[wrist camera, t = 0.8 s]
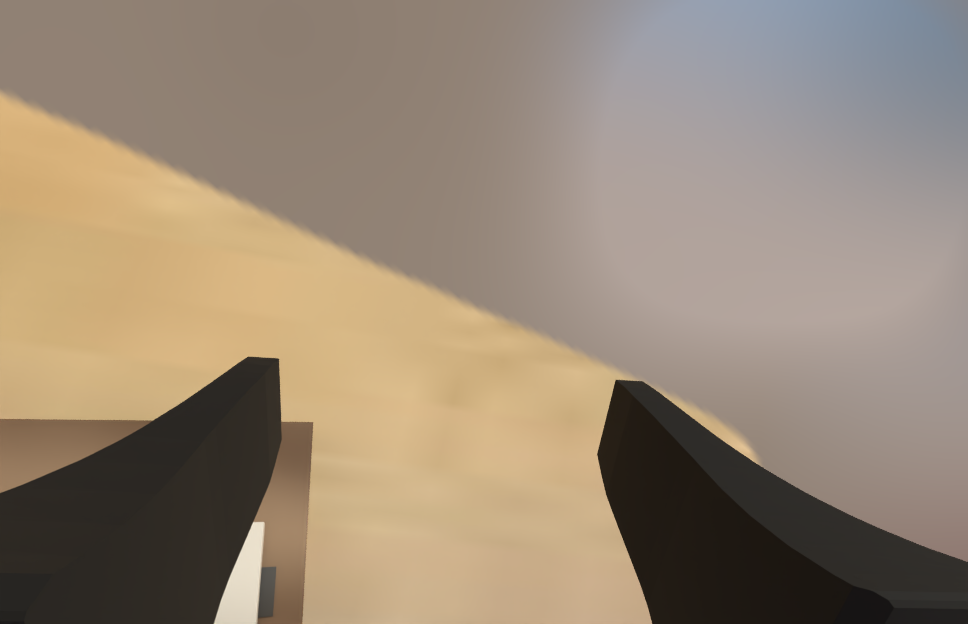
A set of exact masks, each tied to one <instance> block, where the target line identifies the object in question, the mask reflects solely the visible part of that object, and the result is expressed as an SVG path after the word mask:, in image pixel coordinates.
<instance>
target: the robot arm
mask: <svg viewBox="0 0 968 624" xmlns="http://www.w3.org/2000/svg"><path fill="white" fill-rule="evenodd" d="M281 440H282V432H281V404H280V376H279V359H276V358H261V357H247V358H246V359H244V360H242V361H241V362H239V363H238V364H237V365H235V366H234V367H232V368H231V369H230V370H228V371H227V372H225V373H224V374H223V375H221V376H220V377H218V378H217V379H216V380H214V381H213V382H211V383H210V384H208V385H207V386H206V387H204V388H203V389H201V390H200V391H198V392H197V393H195V394H194V395H193V396H191V397H190V398H188V399H187V400H185V401H184V402H182V403H181V404H179V405H178V406H176V407H174V408H173V409H171V410H170V411H168V412H166V413H165V414H163V415H161V416H160V417H158V418H157V419H155V420H153V421H152V422H150V423H149V424H147V425H145V426H144V427H142V428H140V429H139V430H137V431H135V432H133V433H132V434H130V435H128V436H126V437H124V438H123V439H121V440H119V441H117V442H115V443H113V444H111V445H109V446H107V447H105V448H103V449H101V450H99V451H97V452H95V453H93V454H91V455H89V456H87V457H85V458H83V459H81V460H79V461H77V462H74V463H72V464H70V465H67V466H65V467H63V468H60V469H58V470H56V471H53V472H51V473H49V474H46V475H44V476H42V477H39V478H37V479H35V480H32V481H30V482H27V483H25V484H23V485H20V486H18V487H15V488H12V489H10V490H7V491H4V492H2V493H0V624H214V622H215V618H216V615H217V612H218V609H219V605H220V602H221V599H222V597H223V594H224V591H225V589H226V586H227V583H228V581H229V578H230V575H231V573H232V571H233V568H234V566H235V564H236V561H237V559H238V557H239V554H240V552H241V550H242V547H243V545H244V543H245V540H246V538H247V536H248V533H249V531H250V529H251V526H252V524H253V522H254V519H255V517H256V515H257V512H258V510H259V507H260V505H261V503H262V500H263V498H264V496H265V493H266V491H267V488H268V486H269V483H270V481H271V477H272V474H273V470H274V467H275V463H276V459H277V456H278V452H279V448H280V444H281ZM597 455H598V460H599V465H600V470H601V474H602V479H603V483H604V487H605V491H606V495H607V498H608V501H609V503H610V506H611V509H612V511H613V514H614V517H615V520H616V522H617V525H618V528H619V530H620V533H621V535H622V538H623V540H624V543H625V546H626V548H627V551H628V553H629V556H630V559H631V561H632V564H633V566H634V569H635V572H636V574H637V577H638V579H639V582H640V585H641V588H642V591H643V594H644V597H645V600H646V602H647V605H648V609H649V613H650V616H651V620H652V624H968V562H966V561H963V560H960V559H957V558H955V557H951V556H949V555H946V554H943V553H940V552H937V551H935V550H931V549H929V548H926V547H924V546H921V545H919V544H916V543H914V542H911V541H909V540H906V539H904V538H901V537H899V536H897V535H894V534H892V533H889V532H887V531H884V530H882V529H880V528H877V527H875V526H873V525H870V524H868V523H866V522H864V521H862V520H860V519H857V518H855V517H853V516H851V515H849V514H847V513H845V512H843V511H841V510H839V509H837V508H835V507H833V506H831V505H828V504H827V503H825V502H823V501H820V500H818V499H817V498H815V497H813V496H811V495H809V494H807V493H805V492H803V491H802V490H800V489H798V488H796V487H795V486H793V485H791V484H789V483H788V482H786V481H784V480H783V479H781V478H779V477H777V476H776V475H774V474H772V473H771V472H769V471H767V470H766V469H764V468H763V467H761V466H759V465H758V464H756V463H755V462H753V461H752V460H750V459H749V458H747V457H746V456H744V455H743V454H741V453H740V452H738V451H737V450H735V449H734V448H732V447H731V446H729V445H728V444H727V443H725V442H724V441H722V440H721V439H720V438H718V437H717V436H716V435H714V434H713V433H711V432H710V431H709V430H707V429H706V428H705V427H703V426H702V425H701V424H699V423H698V422H697V421H695V420H694V419H693V418H692V417H690V416H689V415H688V414H686V413H685V412H684V411H682V410H681V409H680V408H679V407H677V406H676V405H675V404H673V403H672V402H671V401H669V400H668V399H667V398H665V397H664V396H663V395H661V394H660V393H659V392H657V391H656V390H655V389H653V388H652V387H650V386H649V385H647V384H646V383H644V382H642V381H626V380H616V381H615V385H614V389H613V393H612V397H611V401H610V405H609V409H608V413H607V417H606V421H605V425H604V429H603V433H602V437H601V441H600V445H599V449H598V453H597Z"/></svg>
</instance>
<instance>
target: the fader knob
mask: <svg viewBox="0 0 968 624" xmlns="http://www.w3.org/2000/svg"><path fill="white" fill-rule="evenodd" d="M264 530H265V523H264V522H253V524H252V526H251V529H250V531H249V533H248V536H247V538H246V540H245V543H244V545H243V547H242V550H241V552H240V554H239V557H238V559H237V561H236V564H235V566H234V568H233V571H232V573H231V575H230V578H229V581H228V583H227V586H226V589H225V591H224V594H223V597H222V599H221V602H220V605H219V609H218V612H217V615H216V618H215V622H214V624H257V619H258V606H259V593H260V581H261V568H262V555H263V543H264Z"/></svg>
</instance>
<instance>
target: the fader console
mask: <svg viewBox="0 0 968 624" xmlns="http://www.w3.org/2000/svg"><path fill="white" fill-rule="evenodd" d="M150 422H152V421H135V420H36V419H0V493H2V492H4V491H7V490H10V489H12V488H15V487H18V486H20V485H23V484H25V483H27V482H30V481H32V480H35V479H37V478H39V477H42V476H44V475H46V474H49V473H51V472H53V471H56V470H58V469H60V468H63V467H65V466H67V465H70V464H72V463H74V462H77V461H79V460H81V459H83V458H85V457H87V456H89V455H91V454H93V453H95V452H97V451H99V450H101V449H103V448H105V447H107V446H109V445H111V444H113V443H115V442H117V441H119V440H121V439H123V438H124V437H126V436H128V435H130V434H132V433H133V432H135V431H137V430H139V429H140V428H142V427H144V426H145V425H147V424H149V423H150ZM281 432H282V440H281V444H280V448H279V452H278V456H277V459H276V463H275V467H274V470H273V474H272V477H271V481H270V483H269V486H268V488H267V491H266V493H265V496H264V498H263V500H262V503H261V505H260V507H259V510H258V512H257V515H256V517H255V519H254V522H264V523H265V530H264V543H263V555H262V568H261V581H260V593H259V606H258V619H257V624H302V617H303V598H304V580H305V562H306V544H307V525H308V507H309V489H310V471H311V453H312V434H313V422H281Z"/></svg>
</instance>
